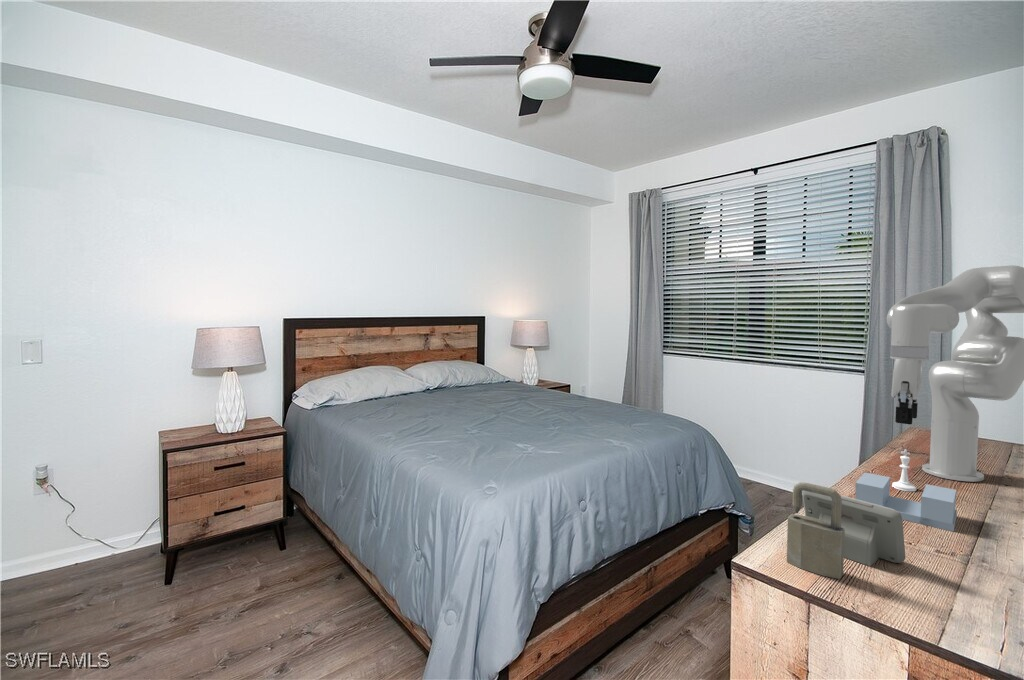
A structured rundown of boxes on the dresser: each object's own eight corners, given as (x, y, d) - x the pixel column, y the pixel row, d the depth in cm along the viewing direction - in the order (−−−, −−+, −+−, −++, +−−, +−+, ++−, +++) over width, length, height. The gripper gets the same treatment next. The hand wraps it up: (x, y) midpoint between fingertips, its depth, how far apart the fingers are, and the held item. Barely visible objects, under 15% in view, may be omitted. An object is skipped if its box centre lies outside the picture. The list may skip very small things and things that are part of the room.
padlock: (791, 555, 89) (794, 476, 88) (844, 572, 83) (847, 488, 82) (785, 563, 86) (787, 482, 85) (838, 581, 80) (841, 494, 79)
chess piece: (918, 493, 119) (919, 453, 118) (893, 489, 121) (894, 450, 121) (914, 486, 123) (916, 448, 122) (890, 483, 126) (891, 446, 125)
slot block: (862, 496, 117) (863, 472, 117) (956, 516, 105) (957, 490, 105) (853, 507, 110) (854, 482, 110) (953, 531, 98) (955, 503, 98)
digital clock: (911, 565, 85) (914, 507, 85) (883, 577, 81) (885, 517, 81) (819, 528, 100) (821, 479, 99) (791, 537, 96) (793, 486, 95)
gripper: (895, 350, 129) (892, 413, 130) (885, 354, 117) (882, 423, 118) (932, 352, 124) (929, 417, 124) (925, 356, 111) (921, 428, 112)
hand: (906, 420), depth 121 cm, fingers open, 9 cm apart
